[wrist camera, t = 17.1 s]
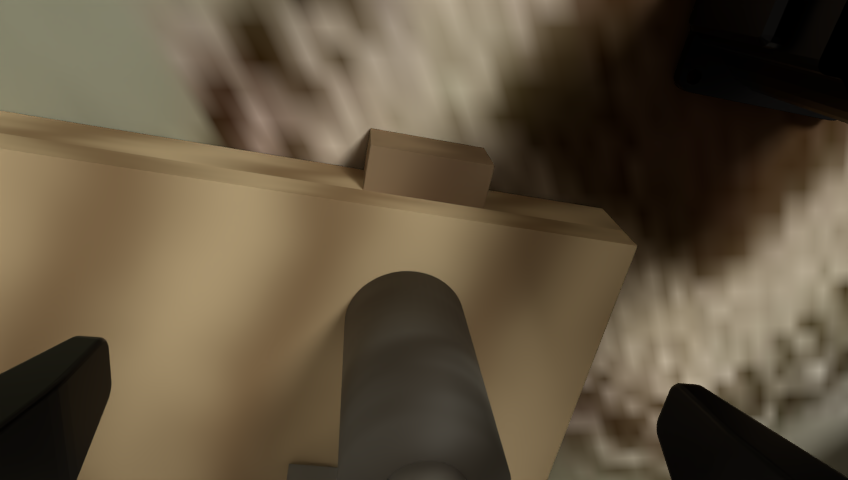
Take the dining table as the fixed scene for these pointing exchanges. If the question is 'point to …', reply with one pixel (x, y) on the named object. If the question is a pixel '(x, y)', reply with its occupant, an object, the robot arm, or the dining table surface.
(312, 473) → the stud finder
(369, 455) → the bottle
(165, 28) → the dining table surface
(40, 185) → the wooden board
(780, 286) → the dining table surface
